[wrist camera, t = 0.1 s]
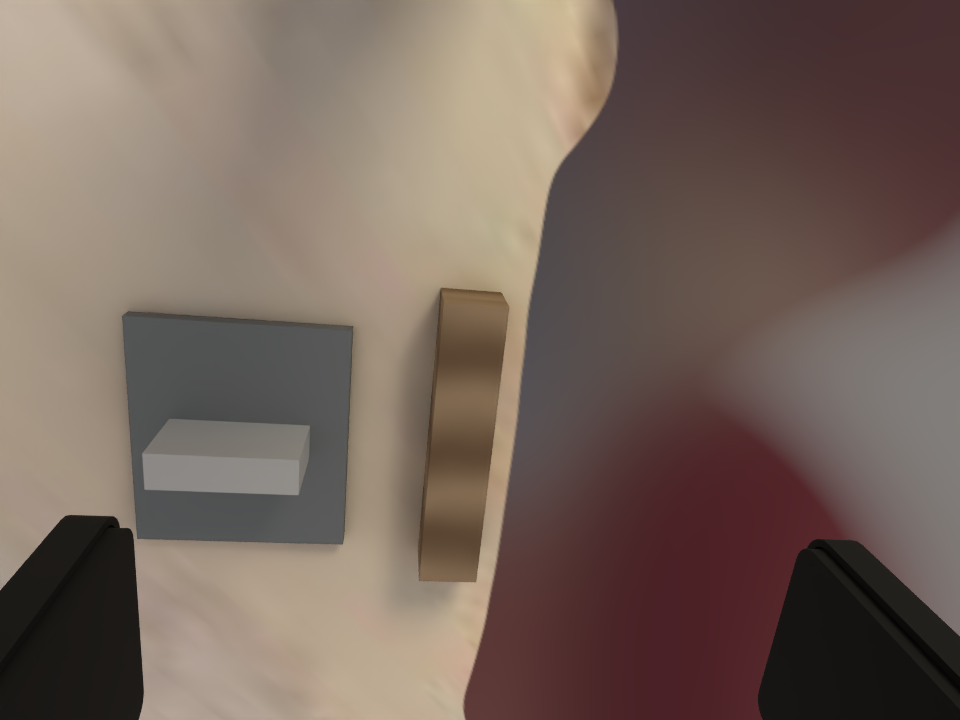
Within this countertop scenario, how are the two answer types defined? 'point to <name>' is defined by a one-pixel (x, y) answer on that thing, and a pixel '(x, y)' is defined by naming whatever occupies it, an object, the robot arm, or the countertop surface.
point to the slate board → (245, 394)
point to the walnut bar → (461, 432)
